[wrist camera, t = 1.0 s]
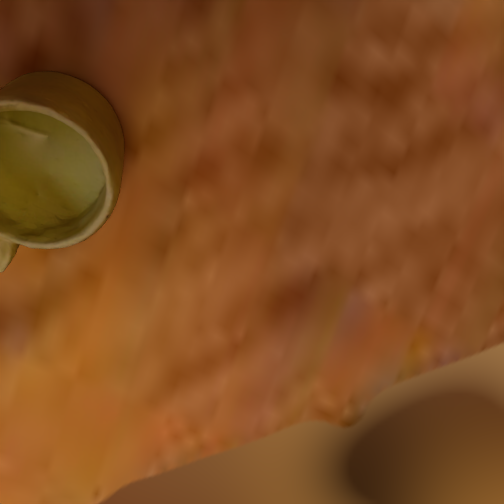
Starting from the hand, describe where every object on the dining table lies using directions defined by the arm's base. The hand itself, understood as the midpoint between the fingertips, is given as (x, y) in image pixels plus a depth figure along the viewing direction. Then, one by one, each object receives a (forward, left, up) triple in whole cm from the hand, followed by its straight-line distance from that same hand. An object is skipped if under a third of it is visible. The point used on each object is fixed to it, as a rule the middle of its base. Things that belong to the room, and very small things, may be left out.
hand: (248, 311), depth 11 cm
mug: (-3, -11, -26) cm, 29 cm away
